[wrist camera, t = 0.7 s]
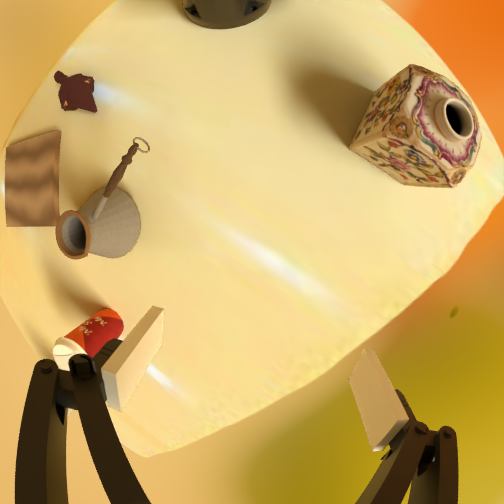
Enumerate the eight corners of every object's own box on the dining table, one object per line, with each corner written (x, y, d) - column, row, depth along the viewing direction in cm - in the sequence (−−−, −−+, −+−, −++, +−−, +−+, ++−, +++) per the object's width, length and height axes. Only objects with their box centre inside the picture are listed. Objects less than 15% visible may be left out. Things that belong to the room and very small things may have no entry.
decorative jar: (429, 130, 35) (500, 114, 17) (405, 187, 38) (478, 195, 20) (372, 89, 34) (427, 45, 17) (345, 147, 37) (398, 125, 19)
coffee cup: (110, 295, 45) (63, 334, 30) (136, 331, 46) (98, 378, 32) (87, 313, 46) (43, 350, 32) (111, 345, 48) (74, 389, 33)
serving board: (12, 147, 38) (6, 147, 36) (61, 131, 38) (54, 130, 36) (12, 225, 43) (6, 226, 41) (60, 224, 42) (53, 226, 40)
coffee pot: (119, 266, 43) (68, 300, 29) (82, 218, 42) (24, 234, 27) (206, 181, 39) (173, 181, 25) (161, 128, 37) (112, 106, 23)
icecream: (104, 84, 30) (68, 54, 29) (69, 119, 30) (39, 84, 29) (119, 104, 37) (83, 72, 36) (89, 135, 36) (56, 100, 36)
